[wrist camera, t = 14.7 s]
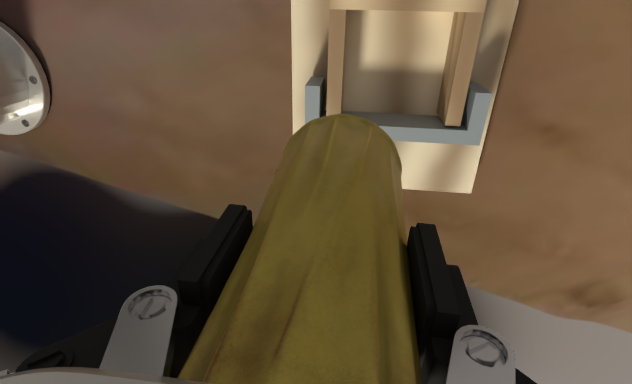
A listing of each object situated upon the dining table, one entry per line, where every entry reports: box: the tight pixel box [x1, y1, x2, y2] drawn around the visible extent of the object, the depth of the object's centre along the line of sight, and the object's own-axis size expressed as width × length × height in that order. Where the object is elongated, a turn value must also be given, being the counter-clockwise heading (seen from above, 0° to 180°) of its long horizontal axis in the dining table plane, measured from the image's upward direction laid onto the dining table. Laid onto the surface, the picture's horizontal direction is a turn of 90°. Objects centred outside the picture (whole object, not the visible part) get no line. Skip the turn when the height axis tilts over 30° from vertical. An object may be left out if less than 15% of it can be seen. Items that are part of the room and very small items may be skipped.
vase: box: [177, 114, 422, 384], centre depth 12 cm, size 6×6×14 cm
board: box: [291, 0, 519, 193], centre depth 32 cm, size 18×20×6 cm
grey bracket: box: [305, 76, 492, 146], centre depth 31 cm, size 14×4×4 cm, turn 89°
